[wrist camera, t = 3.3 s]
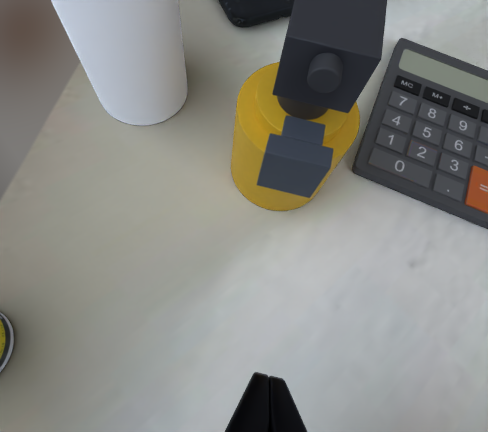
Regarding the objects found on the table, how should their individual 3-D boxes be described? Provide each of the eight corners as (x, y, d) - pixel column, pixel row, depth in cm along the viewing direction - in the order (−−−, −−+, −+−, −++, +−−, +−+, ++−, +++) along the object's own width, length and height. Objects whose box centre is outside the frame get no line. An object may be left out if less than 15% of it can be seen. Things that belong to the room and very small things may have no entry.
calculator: (355, 165, 25) (401, 35, 30) (350, 171, 26) (395, 43, 31) (504, 228, 24) (524, 82, 29) (494, 231, 25) (515, 90, 30)
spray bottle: (315, 223, 24) (435, 90, 11) (220, 200, 24) (226, 39, 11) (328, 140, 27) (437, -48, 14) (242, 119, 27) (269, -90, 14)
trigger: (309, 198, 17) (331, 168, 14) (256, 185, 17) (265, 152, 14) (316, 163, 17) (337, 127, 14) (264, 150, 17) (274, 111, 14)
